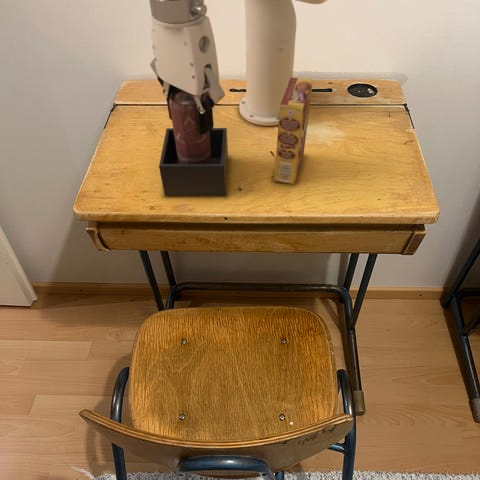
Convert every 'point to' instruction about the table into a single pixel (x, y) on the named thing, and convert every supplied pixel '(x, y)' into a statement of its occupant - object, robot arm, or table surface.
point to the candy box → (292, 129)
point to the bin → (195, 168)
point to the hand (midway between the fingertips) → (191, 122)
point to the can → (188, 130)
